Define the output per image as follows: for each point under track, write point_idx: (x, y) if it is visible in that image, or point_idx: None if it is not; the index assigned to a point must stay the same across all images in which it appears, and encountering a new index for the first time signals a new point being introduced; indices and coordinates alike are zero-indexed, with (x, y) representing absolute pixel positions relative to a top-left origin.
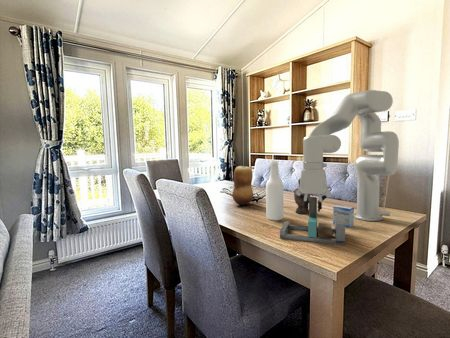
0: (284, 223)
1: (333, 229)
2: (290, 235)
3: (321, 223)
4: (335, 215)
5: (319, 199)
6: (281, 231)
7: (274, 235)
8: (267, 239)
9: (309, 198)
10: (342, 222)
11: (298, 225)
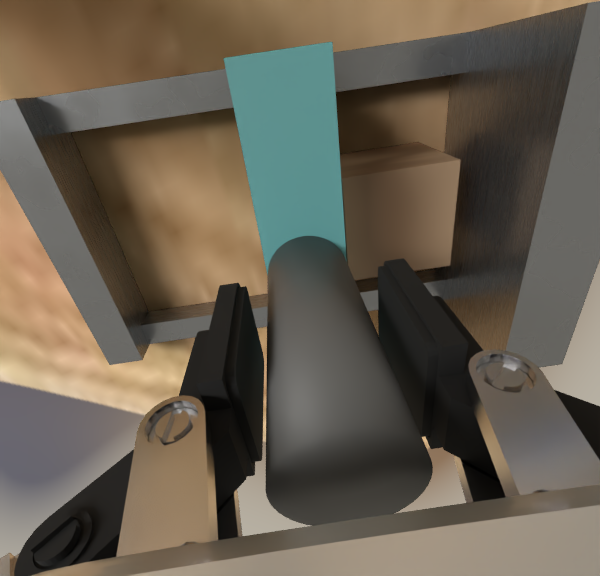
0: (21, 193)
1: (454, 72)
2: (181, 334)
3: (371, 188)
4: (566, 113)
5: (471, 487)
6: (120, 362)
7: (69, 307)
8: (78, 370)
9: (283, 502)
10: (557, 331)
11: (128, 85)
